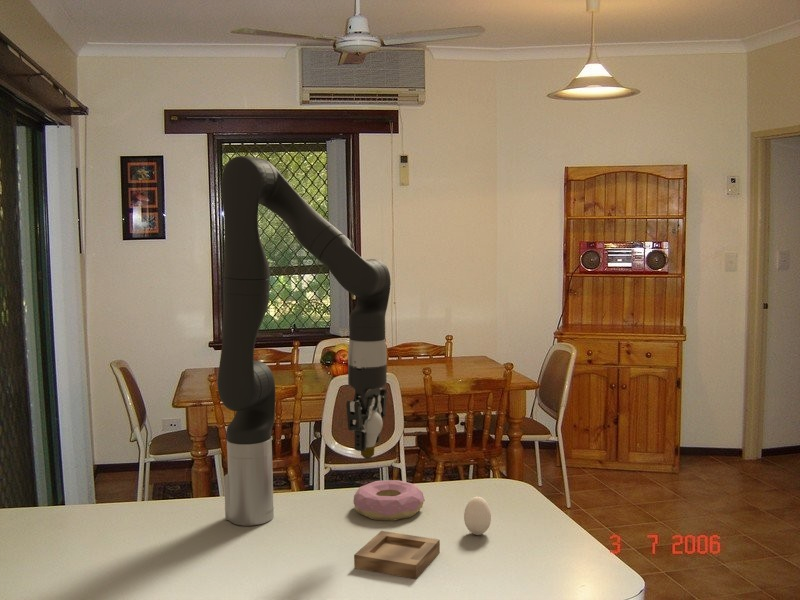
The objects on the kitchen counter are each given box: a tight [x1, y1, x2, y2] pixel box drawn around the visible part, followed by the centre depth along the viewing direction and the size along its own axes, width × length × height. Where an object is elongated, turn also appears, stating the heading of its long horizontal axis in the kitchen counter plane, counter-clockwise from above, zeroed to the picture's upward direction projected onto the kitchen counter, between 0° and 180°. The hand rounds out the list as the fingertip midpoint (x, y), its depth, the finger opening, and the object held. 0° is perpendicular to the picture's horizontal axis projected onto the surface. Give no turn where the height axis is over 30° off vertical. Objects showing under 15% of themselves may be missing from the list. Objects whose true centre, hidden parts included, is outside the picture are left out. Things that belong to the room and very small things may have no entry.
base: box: [353, 530, 441, 580], centre depth 148 cm, size 12×12×2 cm
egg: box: [463, 496, 492, 536], centre depth 159 cm, size 5×5×8 cm
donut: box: [353, 479, 426, 522], centre depth 173 cm, size 16×15×5 cm
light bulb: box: [353, 410, 384, 460], centre depth 158 cm, size 6×6×10 cm
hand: (367, 445), depth 158 cm, fingers closed on light bulb, 5 cm apart
